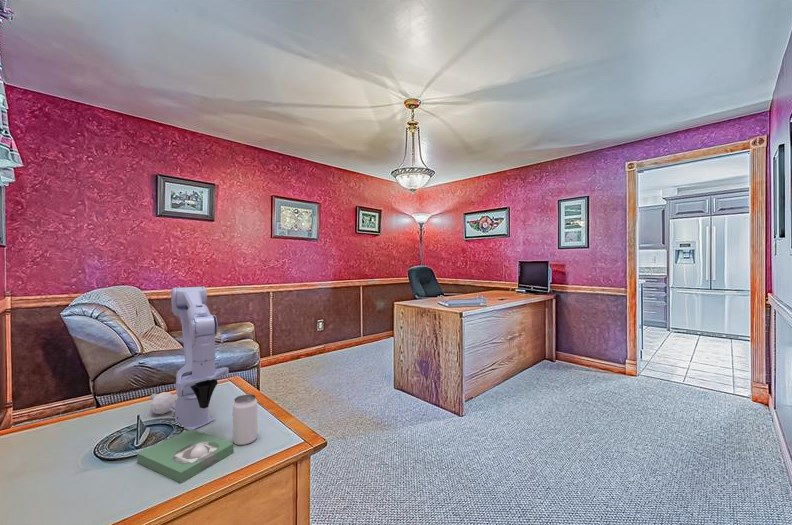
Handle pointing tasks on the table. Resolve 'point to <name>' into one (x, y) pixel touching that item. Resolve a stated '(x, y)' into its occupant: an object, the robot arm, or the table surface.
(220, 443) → the putting mat
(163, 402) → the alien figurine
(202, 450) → the ball
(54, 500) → the table surface
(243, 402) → the can
